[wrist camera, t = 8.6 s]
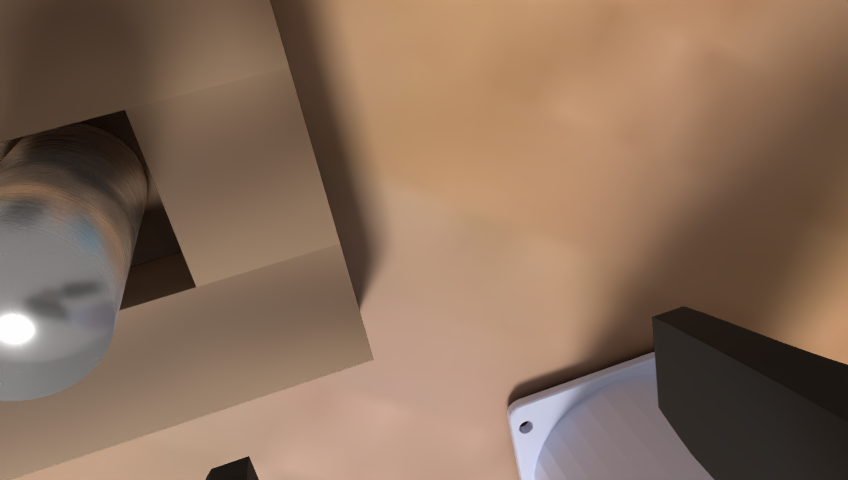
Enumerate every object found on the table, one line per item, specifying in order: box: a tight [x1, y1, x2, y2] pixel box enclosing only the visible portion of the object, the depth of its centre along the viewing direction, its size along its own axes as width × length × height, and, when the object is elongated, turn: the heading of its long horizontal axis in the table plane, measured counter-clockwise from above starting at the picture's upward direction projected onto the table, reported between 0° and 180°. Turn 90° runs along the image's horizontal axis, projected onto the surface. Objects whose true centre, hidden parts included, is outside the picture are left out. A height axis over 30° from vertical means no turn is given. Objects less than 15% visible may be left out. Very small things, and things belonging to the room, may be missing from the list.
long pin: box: [0, 123, 148, 401], centre depth 15 cm, size 3×3×7 cm
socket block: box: [0, 0, 374, 480], centre depth 17 cm, size 12×12×2 cm
